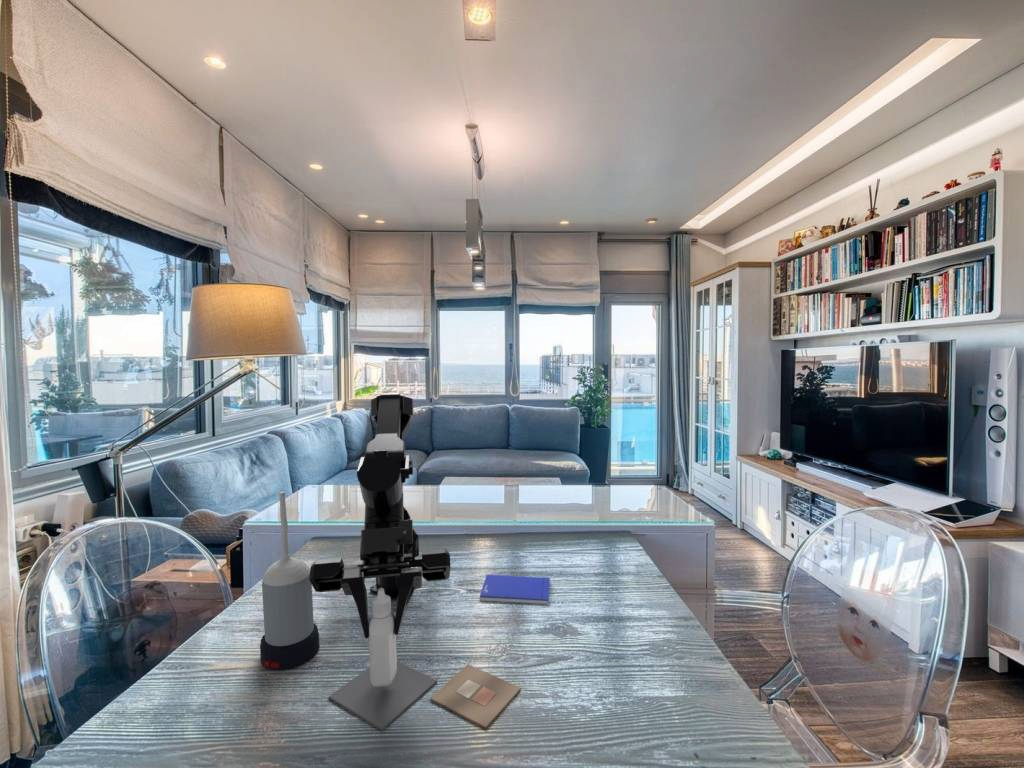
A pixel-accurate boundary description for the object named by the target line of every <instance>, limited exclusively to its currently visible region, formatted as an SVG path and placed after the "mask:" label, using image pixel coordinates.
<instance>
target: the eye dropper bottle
mask: <svg viewBox="0 0 1024 768" xmlns="http://www.w3.org/2000/svg"><path fill="white" fill-rule="evenodd" d="M371 609H372V610H371V611H372V615H371V617H370V619H369V638H368V653H369V654H368V655H369V667H370V679H371V683H372V685H373V686H374V687H380V686H388V685H390V684H391V682H392V681H393V679H394V678H395V675H396V671H397V661H398V659H397V635H395V616H396V614H395V613H394V612H393V610H392V599H391V597H390V596H388V595H385V592H384V588H379V589H378V594H377V595H376V596H374V597H373V598H372V599H371Z"/></svg>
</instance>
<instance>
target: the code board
mask: <svg viewBox="0 0 1024 768" xmlns="http://www.w3.org/2000/svg"><path fill="white" fill-rule="evenodd" d="M521 690H522V688H521V686H518V685H515V684H513V683H511V682H509V681H507V680H504V679H502V678H501V677H498V676H496V675H494V674H491V673H489V672H486V671H484V670H482V669H480V668H478V667H475V666H473V665H471V664H469V663H467V664H466V665H465V666H463V667H462V669H460V670H459V672H458V673H456V674H455V675H454V676H453V677H452V678H451V679H450V680H448V681H447V682H446V683H445V684H444V685H443V686H442V687H441V688H440V689H439V690H437V692H435V693H433V695H432V696H431V697H430V699H429V700H430V701H431V702H433V703H435V704H437V705H439V706H440V707H443V708H445V709H447V710H449V711H451V712H452V713H454V714H457V715H458V716H460V717H462V718H464V719H466V720H467V721H470V722H472V723H474V724H476V725H477V726H479V727H481V728H482V729H484V730H487V729H488V728H489V727H490V726H491V724H492V723H493V722H494V721H495V719H496V718H497V717H498V716H500V714H501V713H502V712H503V711H504V709H505V708H506V707H507V706H508V705H509V704H510V703H511V701H512V700H514V698H515V697H516V696H517V695H518V694H519V692H521Z"/></svg>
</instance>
